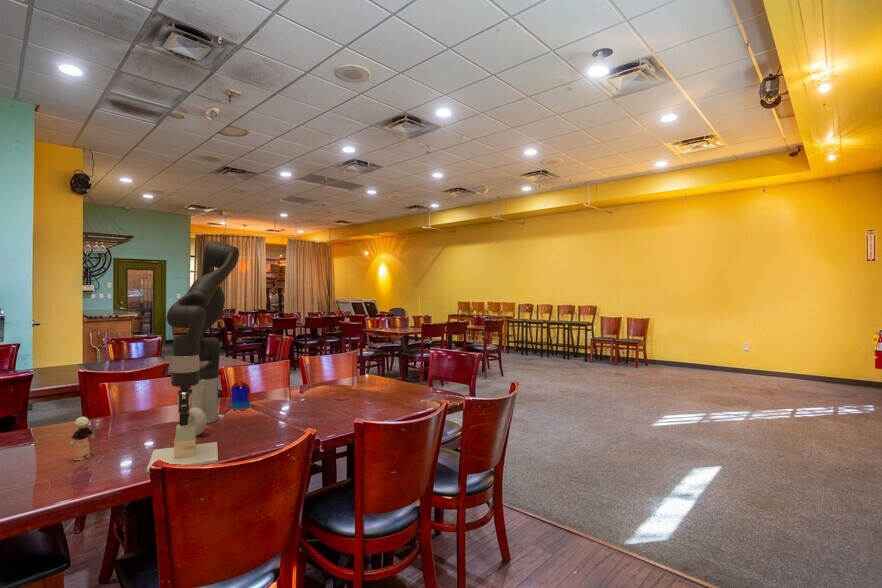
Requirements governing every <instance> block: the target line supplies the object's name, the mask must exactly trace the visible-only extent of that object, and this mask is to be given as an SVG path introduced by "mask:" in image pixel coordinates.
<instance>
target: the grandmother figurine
mask: <svg viewBox="0 0 882 588" xmlns="http://www.w3.org/2000/svg"><path fill="white" fill-rule="evenodd" d="M89 423H90V419H89V418H88V417H86V416H80V417H78V418H76V420H75V426H76V428H77V429H78V430H75V431H74V433H73V434H72V436H71V438H70V442H69V445H70V446H73V445H74V450H73V457H74V458H73V461H74V460H80V461H83V460H85V459H87V458H91V454H90V451H91V450H90V442H89V439H88V438H89V437H90V439H95V437H96V436H95V434H94V432H93V430H91V429H90V428H89V427H88V426H87V425H89Z"/></svg>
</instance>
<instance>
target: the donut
mask: <svg viewBox="0 0 882 588" xmlns="http://www.w3.org/2000/svg"><path fill="white" fill-rule="evenodd" d="M194 418H195V420H196V424H195V435H196V437H197V436H200V435H201V434H202V433H203V432H204V431H205V429H206V427H207V424H208V423H207V421H206V416H205V413H204V412H203V411H202V410H201V409H200V408H197V407H195V408H192V407H190V409H189V418H188V423H194Z"/></svg>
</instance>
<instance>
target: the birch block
mask: <svg viewBox="0 0 882 588" xmlns="http://www.w3.org/2000/svg"><path fill="white" fill-rule="evenodd" d="M196 440H197V436H196V435H195V436H194V440H186V441H178V442H176V436H175V437H174V442H173V447H174V459H178V458H186V457H193V456H195V451H196V445H197V442H196Z"/></svg>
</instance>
